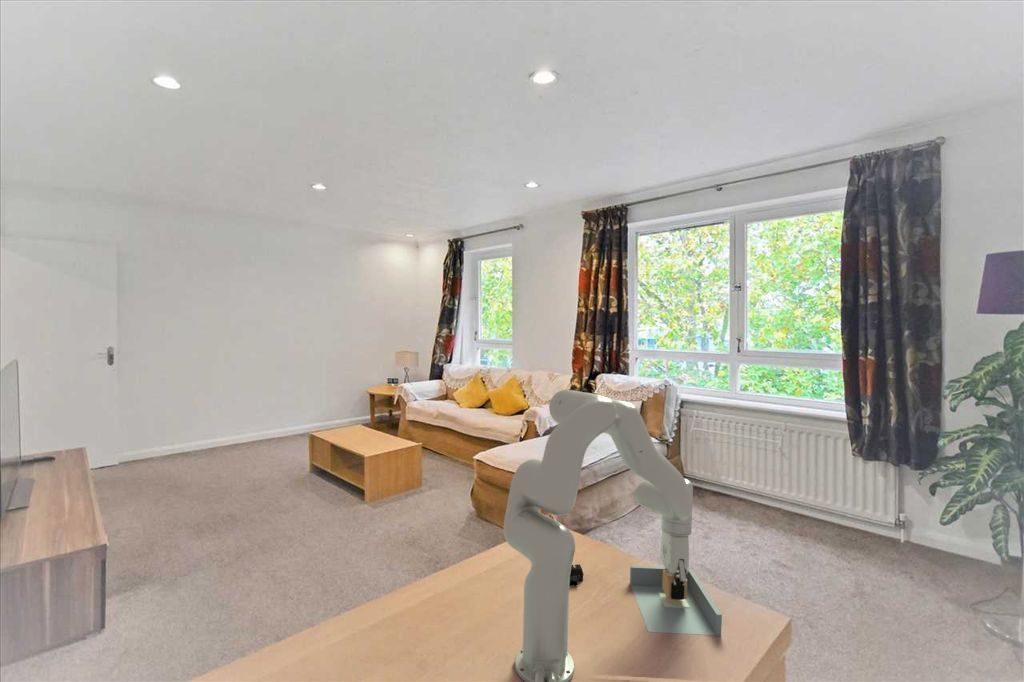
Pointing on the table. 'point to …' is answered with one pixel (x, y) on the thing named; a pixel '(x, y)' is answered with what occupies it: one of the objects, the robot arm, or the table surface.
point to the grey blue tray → (674, 604)
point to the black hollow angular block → (576, 575)
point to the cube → (667, 584)
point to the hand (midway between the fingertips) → (674, 592)
